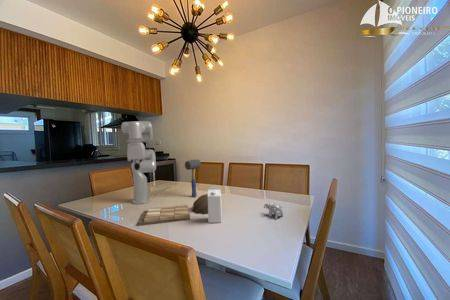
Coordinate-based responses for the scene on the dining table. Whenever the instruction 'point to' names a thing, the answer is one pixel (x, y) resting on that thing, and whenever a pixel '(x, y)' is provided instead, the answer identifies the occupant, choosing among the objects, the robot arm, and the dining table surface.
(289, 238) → the dining table surface
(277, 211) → the elephant statuette
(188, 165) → the rubber mallet
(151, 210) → the loose plank
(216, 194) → the milk carton
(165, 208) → the floor board
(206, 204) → the decorative dome
